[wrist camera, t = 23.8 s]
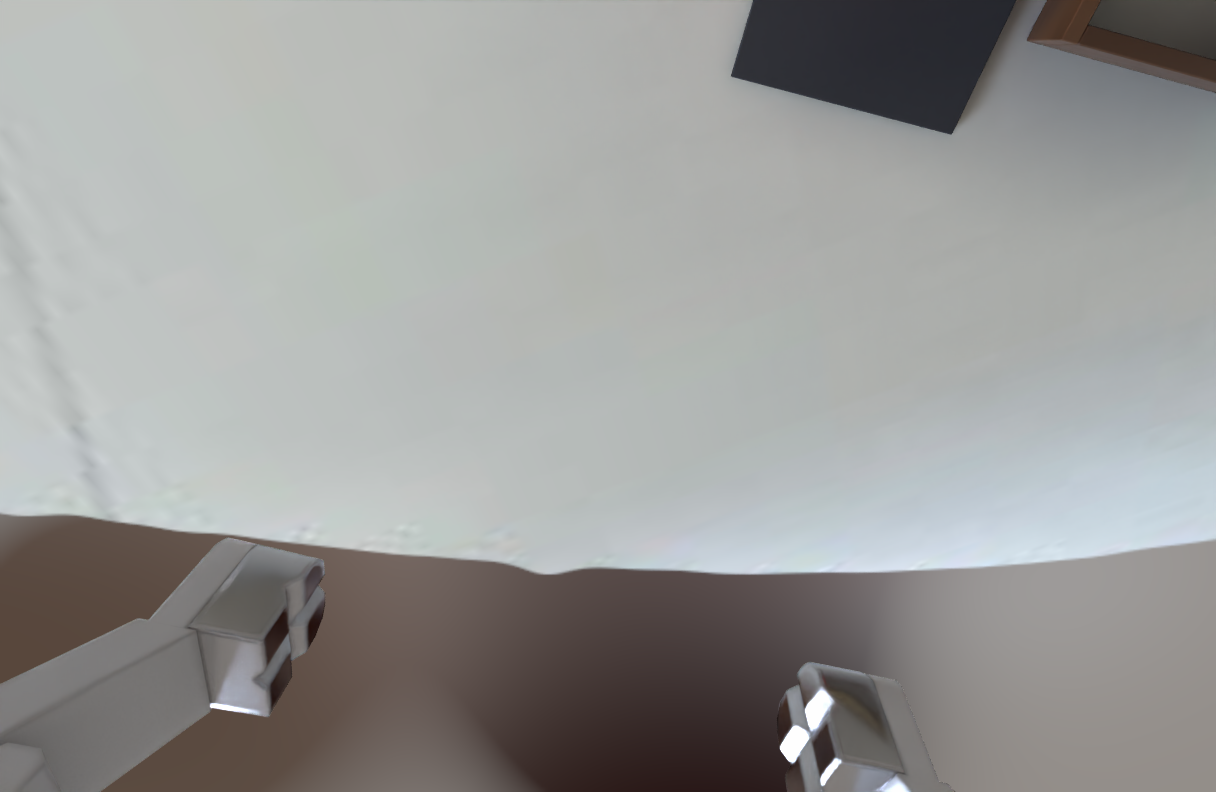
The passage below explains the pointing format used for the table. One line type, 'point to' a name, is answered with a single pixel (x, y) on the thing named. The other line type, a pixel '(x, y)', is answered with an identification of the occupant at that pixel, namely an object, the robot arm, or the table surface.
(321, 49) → the table surface
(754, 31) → the mat
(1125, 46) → the tray
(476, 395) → the table surface
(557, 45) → the table surface
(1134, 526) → the table surface
